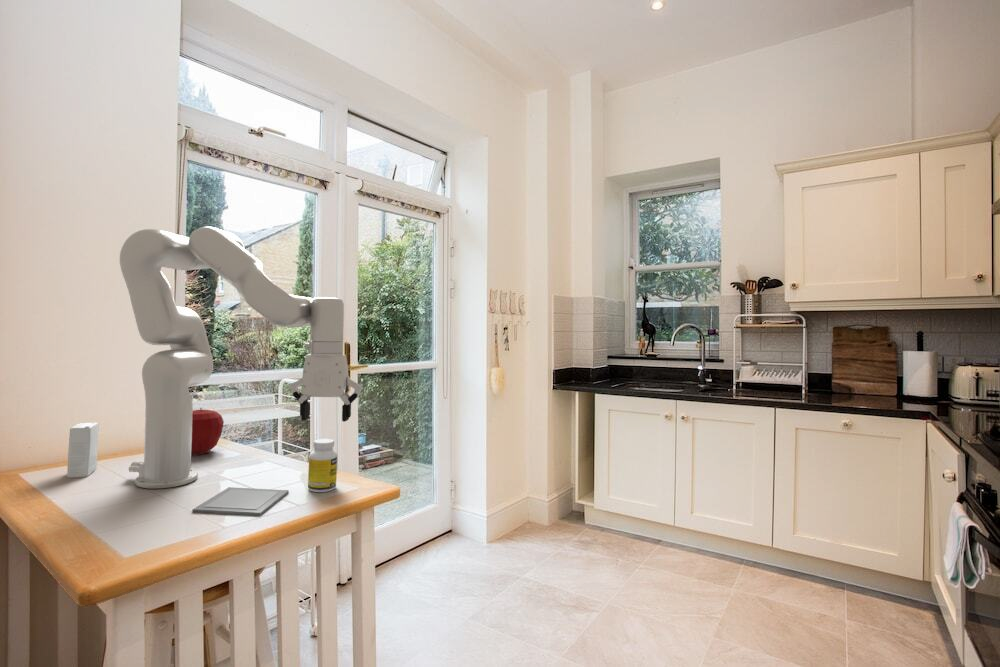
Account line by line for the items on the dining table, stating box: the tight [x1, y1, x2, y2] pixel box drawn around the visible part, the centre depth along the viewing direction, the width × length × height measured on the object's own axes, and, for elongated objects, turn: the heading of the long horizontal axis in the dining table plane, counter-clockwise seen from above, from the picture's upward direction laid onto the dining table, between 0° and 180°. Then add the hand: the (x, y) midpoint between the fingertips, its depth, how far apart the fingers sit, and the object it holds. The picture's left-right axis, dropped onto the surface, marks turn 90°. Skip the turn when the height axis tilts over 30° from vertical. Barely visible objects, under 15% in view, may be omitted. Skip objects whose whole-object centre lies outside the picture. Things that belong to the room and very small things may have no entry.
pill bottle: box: [307, 438, 338, 493], centre depth 122 cm, size 6×6×12 cm
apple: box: [191, 407, 225, 456], centre depth 148 cm, size 12×12×13 cm
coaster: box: [191, 486, 290, 517], centre depth 112 cm, size 14×14×1 cm
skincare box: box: [66, 422, 99, 479], centre depth 125 cm, size 6×4×12 cm
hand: (325, 419), depth 122 cm, fingers open, 9 cm apart
